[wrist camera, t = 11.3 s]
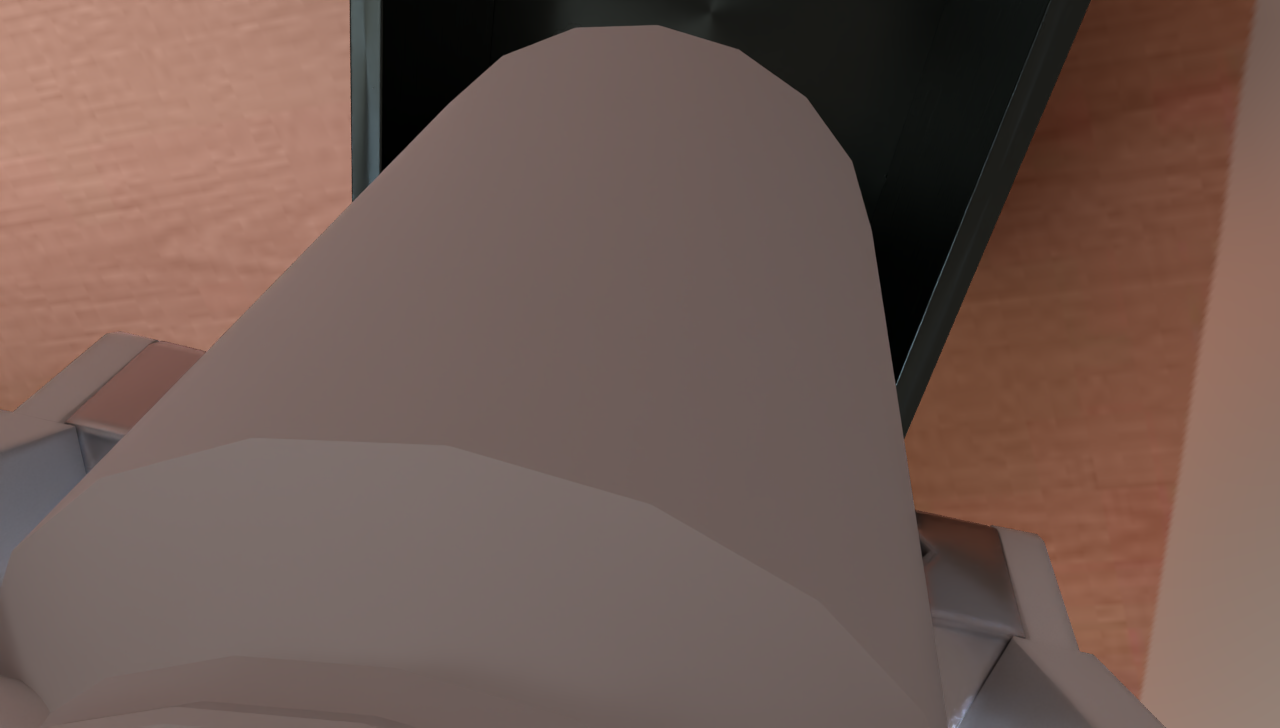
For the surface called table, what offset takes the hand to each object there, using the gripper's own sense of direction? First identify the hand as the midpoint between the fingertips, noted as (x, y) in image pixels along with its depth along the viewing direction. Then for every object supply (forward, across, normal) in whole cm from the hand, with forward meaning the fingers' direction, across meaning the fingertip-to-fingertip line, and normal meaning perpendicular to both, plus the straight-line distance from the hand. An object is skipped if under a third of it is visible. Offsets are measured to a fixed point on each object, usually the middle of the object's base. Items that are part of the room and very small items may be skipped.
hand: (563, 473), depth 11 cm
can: (+6, 0, 0) cm, 6 cm away
